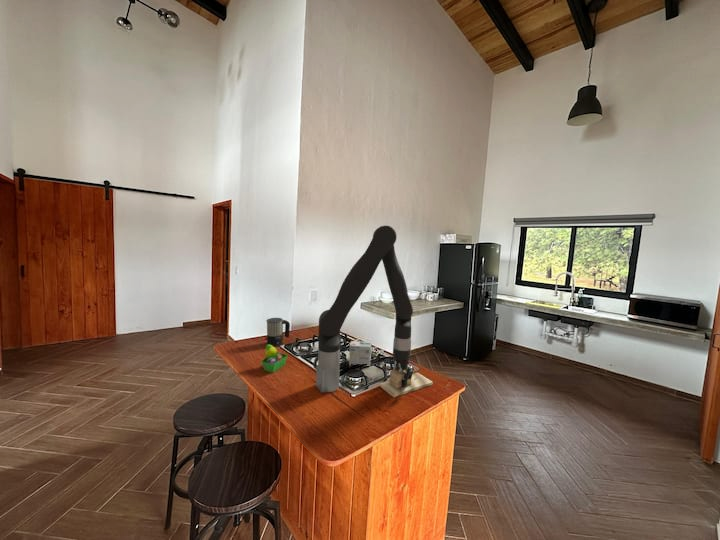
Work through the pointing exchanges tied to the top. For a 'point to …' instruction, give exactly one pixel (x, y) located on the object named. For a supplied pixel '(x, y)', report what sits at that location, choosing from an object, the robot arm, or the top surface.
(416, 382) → the board
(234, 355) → the top surface
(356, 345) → the light bulb box
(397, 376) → the block
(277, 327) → the milk frother
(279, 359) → the fruit basket
